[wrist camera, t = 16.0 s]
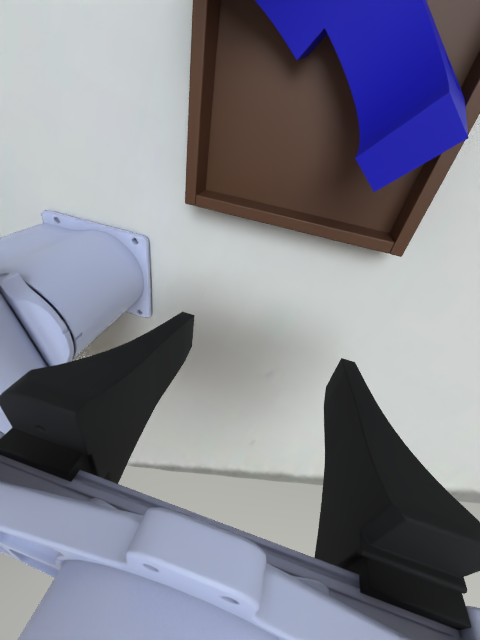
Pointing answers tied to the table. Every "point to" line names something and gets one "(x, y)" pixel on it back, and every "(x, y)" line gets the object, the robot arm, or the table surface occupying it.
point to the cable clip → (384, 76)
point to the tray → (303, 129)
